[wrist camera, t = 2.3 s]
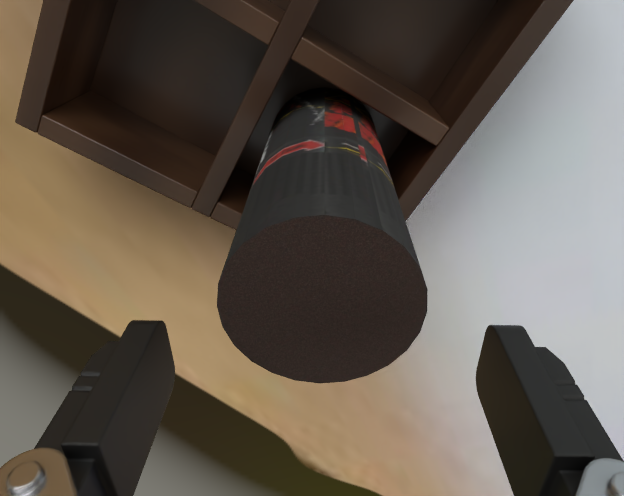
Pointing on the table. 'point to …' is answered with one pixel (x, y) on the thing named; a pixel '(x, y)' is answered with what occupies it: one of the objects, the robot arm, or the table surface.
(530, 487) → the robot arm
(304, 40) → the rack
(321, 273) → the deodorant
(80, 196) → the table surface
